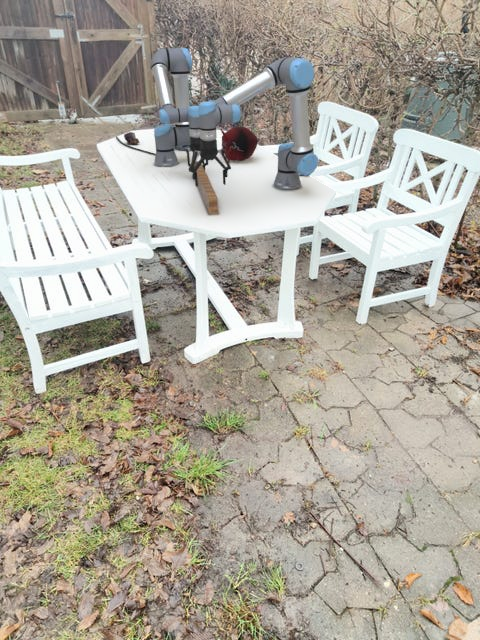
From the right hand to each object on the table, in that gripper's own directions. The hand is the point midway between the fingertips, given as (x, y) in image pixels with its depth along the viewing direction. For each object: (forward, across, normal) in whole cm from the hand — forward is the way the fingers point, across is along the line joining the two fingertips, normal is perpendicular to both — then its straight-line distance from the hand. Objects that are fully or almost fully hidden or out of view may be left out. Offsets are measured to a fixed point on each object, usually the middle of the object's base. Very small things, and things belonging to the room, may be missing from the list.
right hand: (210, 185), depth 218 cm
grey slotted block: (+12, 0, +126) cm, 126 cm away
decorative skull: (+12, +32, +88) cm, 95 cm away
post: (+12, 0, +26) cm, 29 cm away
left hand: (+12, 0, +52) cm, 54 cm away
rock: (+12, -39, +148) cm, 154 cm away
